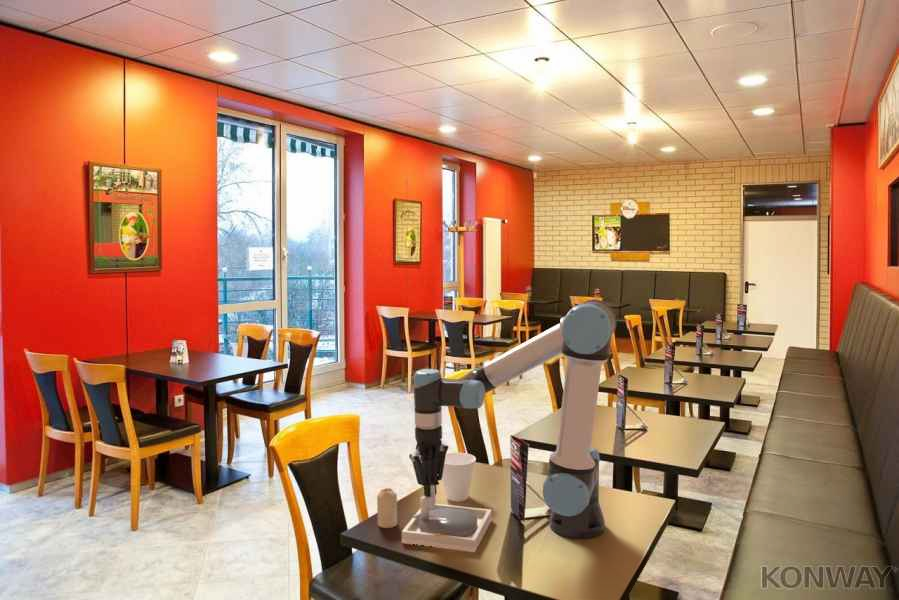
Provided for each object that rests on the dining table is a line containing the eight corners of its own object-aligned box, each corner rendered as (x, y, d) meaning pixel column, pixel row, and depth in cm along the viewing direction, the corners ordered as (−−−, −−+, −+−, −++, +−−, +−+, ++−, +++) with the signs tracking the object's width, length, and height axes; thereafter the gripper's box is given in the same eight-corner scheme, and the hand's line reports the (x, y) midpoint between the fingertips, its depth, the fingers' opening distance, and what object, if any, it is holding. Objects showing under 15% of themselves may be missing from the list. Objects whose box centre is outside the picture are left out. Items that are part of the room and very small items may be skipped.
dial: (480, 516, 191) (479, 489, 190) (473, 541, 175) (473, 512, 174) (425, 513, 193) (424, 486, 193) (414, 538, 178) (413, 509, 177)
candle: (394, 529, 186) (393, 494, 185) (375, 527, 187) (374, 493, 186) (399, 520, 191) (398, 487, 190) (381, 519, 193) (380, 485, 192)
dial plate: (491, 520, 191) (491, 508, 191) (474, 552, 172) (474, 539, 172) (425, 512, 197) (425, 501, 196) (401, 543, 178) (401, 530, 177)
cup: (476, 504, 202) (476, 465, 201) (437, 504, 203) (437, 465, 201) (475, 489, 214) (475, 452, 213) (438, 489, 214) (438, 452, 213)
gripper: (436, 417, 192) (438, 496, 195) (402, 427, 183) (404, 510, 186) (454, 422, 187) (456, 503, 189) (420, 433, 178) (422, 518, 180)
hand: (430, 506), depth 187 cm, fingers closed
